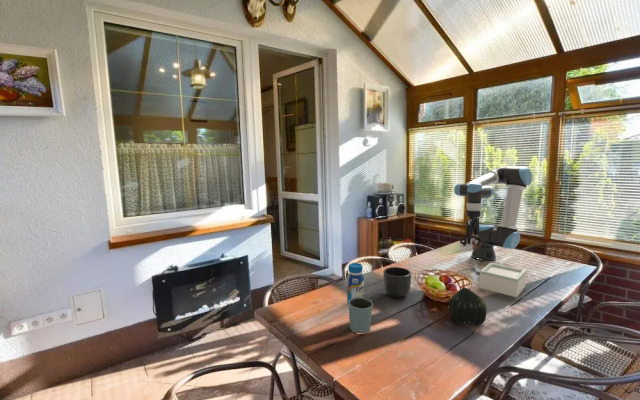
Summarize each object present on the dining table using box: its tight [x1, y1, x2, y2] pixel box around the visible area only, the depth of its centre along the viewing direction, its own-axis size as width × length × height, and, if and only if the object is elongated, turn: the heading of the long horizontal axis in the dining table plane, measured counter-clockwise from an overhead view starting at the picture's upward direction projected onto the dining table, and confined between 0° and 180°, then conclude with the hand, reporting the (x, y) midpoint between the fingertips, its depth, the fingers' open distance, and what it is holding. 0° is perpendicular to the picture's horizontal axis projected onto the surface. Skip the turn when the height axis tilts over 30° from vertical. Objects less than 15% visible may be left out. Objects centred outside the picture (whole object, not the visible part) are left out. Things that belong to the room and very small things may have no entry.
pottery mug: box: [459, 234, 482, 250], centre depth 190 cm, size 12×10×8 cm
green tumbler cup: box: [347, 297, 374, 334], centre depth 134 cm, size 10×10×12 cm
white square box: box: [478, 262, 527, 298], centre depth 174 cm, size 18×18×10 cm
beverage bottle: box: [346, 262, 365, 305], centre depth 157 cm, size 8×8×20 cm
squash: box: [448, 286, 488, 326], centre depth 140 cm, size 14×15×15 cm
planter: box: [383, 266, 412, 299], centre depth 166 cm, size 14×14×13 cm
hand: (472, 247), depth 190 cm, fingers closed on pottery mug, 9 cm apart
